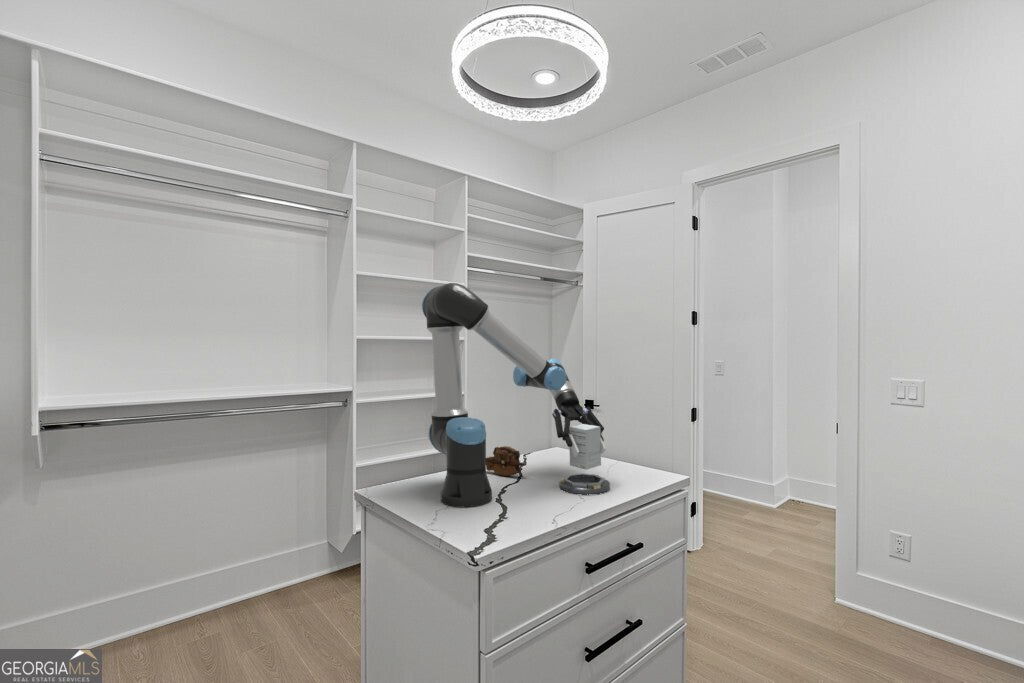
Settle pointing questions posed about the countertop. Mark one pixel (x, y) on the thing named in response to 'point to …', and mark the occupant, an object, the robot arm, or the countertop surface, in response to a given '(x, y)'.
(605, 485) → the ring
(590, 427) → the supplement box
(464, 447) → the robot arm
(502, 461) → the wooden carving
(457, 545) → the countertop surface
